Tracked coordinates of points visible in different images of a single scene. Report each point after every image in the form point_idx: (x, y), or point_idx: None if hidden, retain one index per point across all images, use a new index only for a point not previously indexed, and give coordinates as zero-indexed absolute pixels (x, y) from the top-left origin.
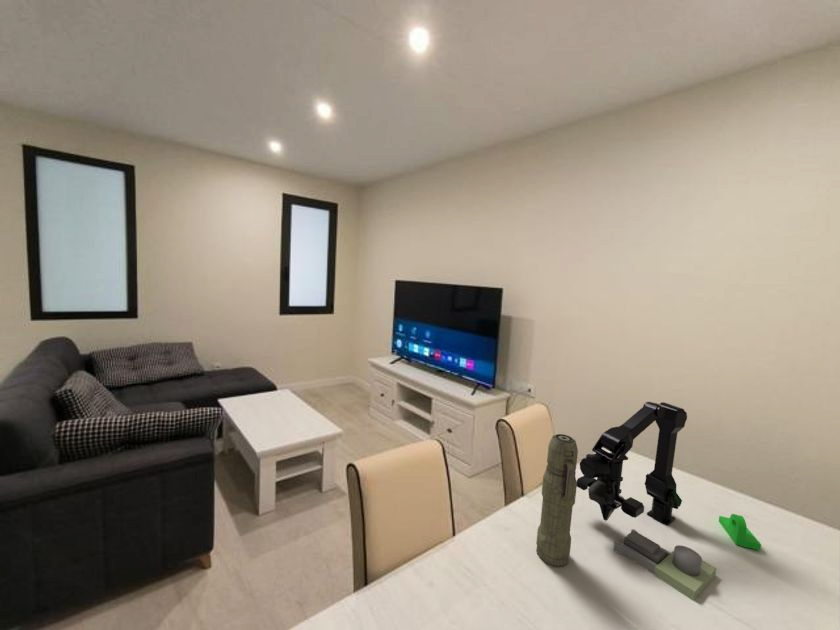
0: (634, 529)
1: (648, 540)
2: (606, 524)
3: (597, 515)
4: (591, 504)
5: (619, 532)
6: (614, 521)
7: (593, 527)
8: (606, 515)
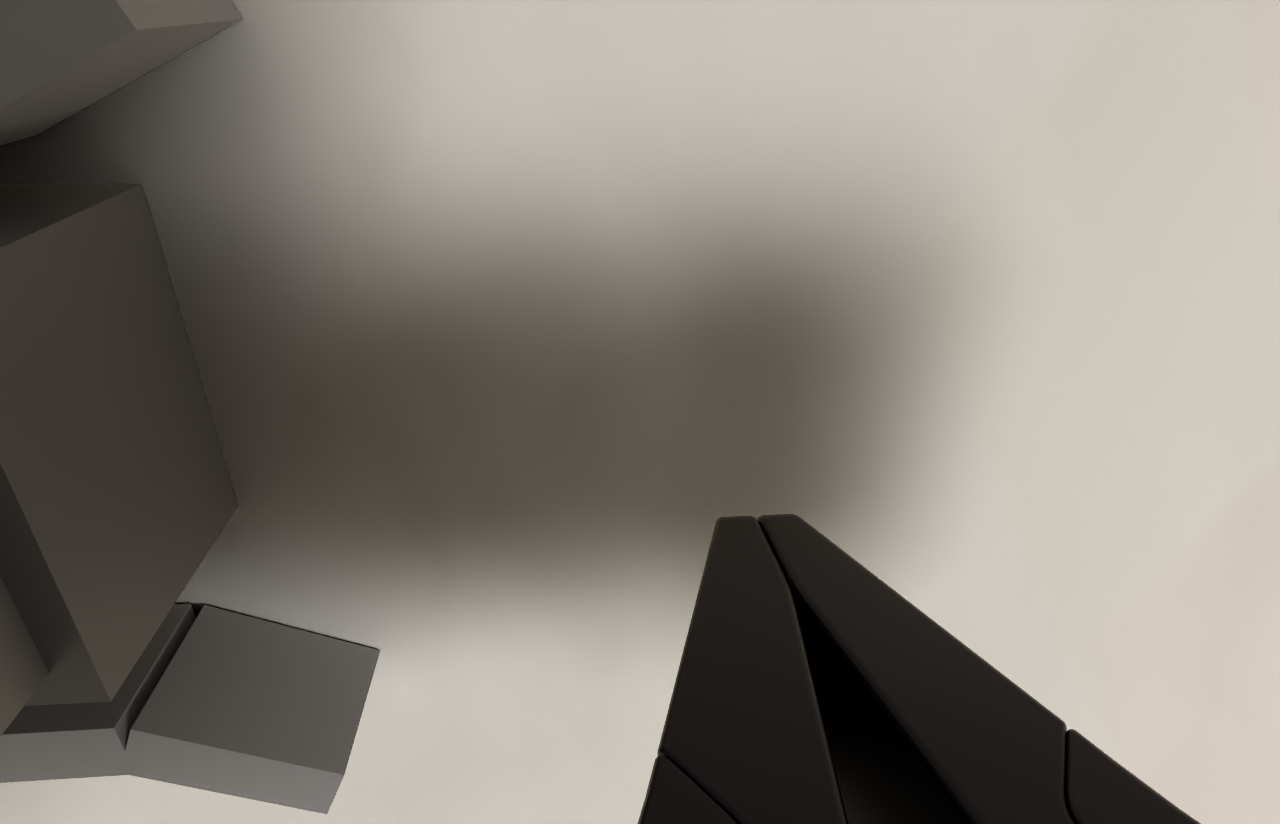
0: (321, 809)
1: None
2: None
3: None
4: None
5: (536, 596)
6: None
7: (893, 306)
8: (743, 635)
